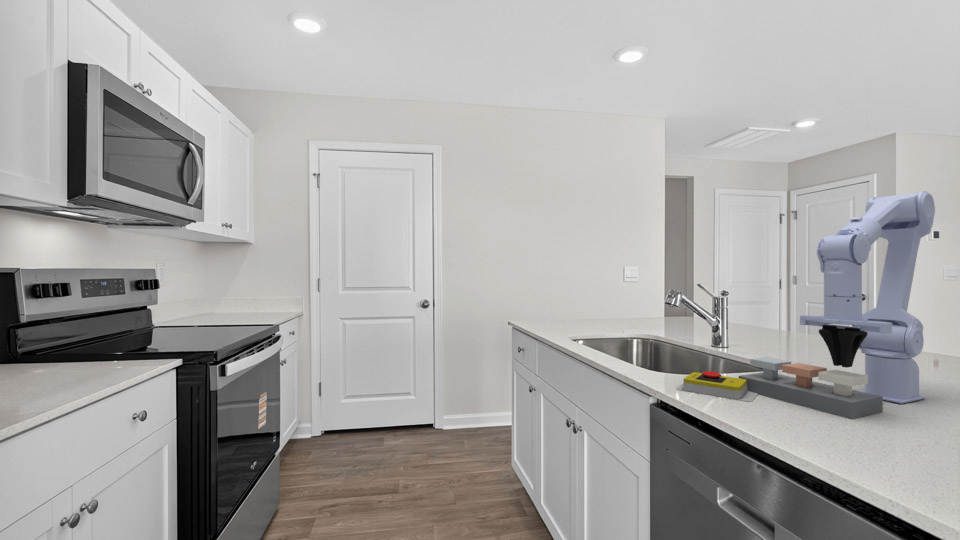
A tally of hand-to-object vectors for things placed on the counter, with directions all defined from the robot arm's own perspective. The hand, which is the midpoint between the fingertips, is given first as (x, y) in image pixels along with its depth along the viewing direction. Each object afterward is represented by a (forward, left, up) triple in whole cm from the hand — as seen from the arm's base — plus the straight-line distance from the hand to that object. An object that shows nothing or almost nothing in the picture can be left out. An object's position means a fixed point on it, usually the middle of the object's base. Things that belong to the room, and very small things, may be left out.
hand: (842, 366), depth 85 cm
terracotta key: (0, -7, -6) cm, 9 cm away
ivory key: (0, 0, -6) cm, 6 cm away
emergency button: (+11, -19, -9) cm, 24 cm away
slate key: (0, -14, -6) cm, 15 cm away
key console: (0, -7, -8) cm, 11 cm away
